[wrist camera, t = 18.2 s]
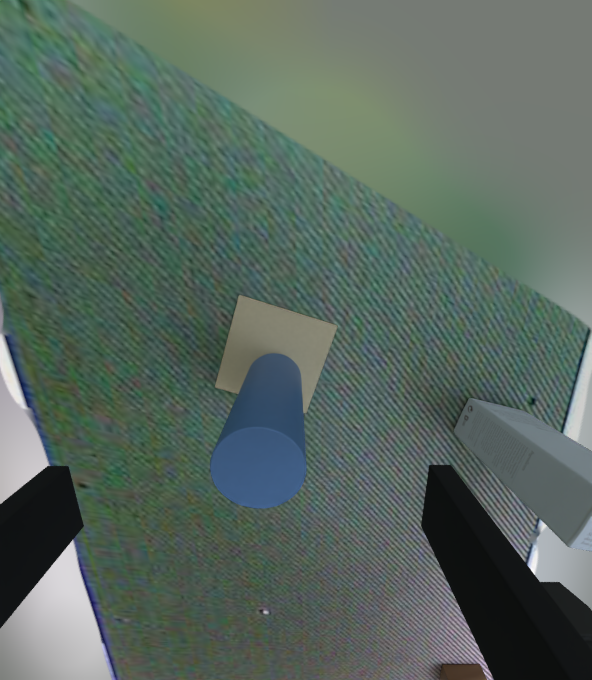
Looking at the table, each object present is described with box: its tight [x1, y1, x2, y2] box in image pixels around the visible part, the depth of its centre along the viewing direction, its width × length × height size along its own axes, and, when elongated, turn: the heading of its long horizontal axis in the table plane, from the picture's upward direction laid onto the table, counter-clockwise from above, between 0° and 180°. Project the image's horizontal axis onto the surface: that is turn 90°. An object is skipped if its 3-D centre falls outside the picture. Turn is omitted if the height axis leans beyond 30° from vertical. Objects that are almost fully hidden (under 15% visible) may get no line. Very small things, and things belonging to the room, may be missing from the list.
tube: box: [210, 353, 306, 508], centre depth 20 cm, size 12×5×5 cm
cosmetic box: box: [454, 398, 592, 551], centre depth 22 cm, size 6×4×12 cm
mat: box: [215, 295, 338, 413], centre depth 26 cm, size 9×9×1 cm
